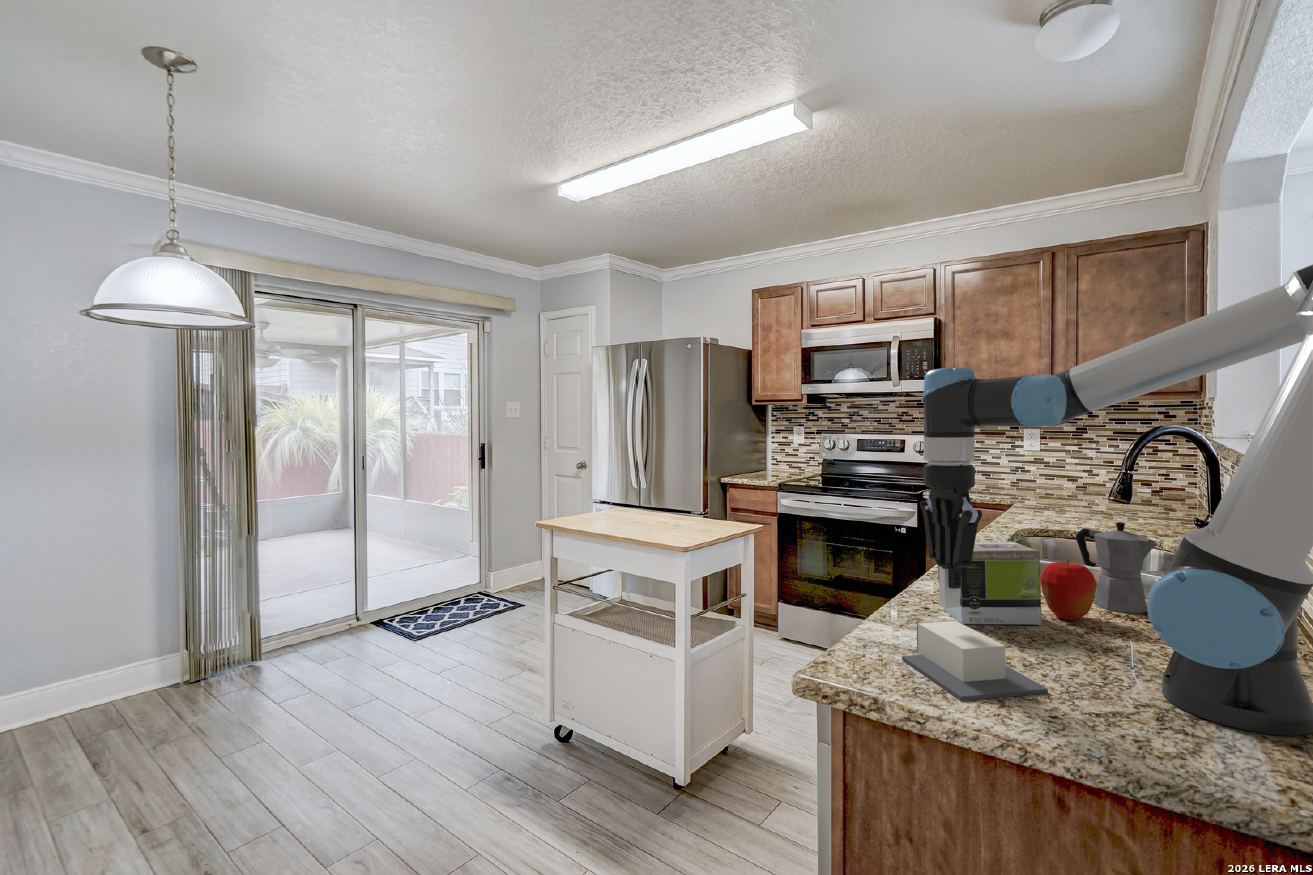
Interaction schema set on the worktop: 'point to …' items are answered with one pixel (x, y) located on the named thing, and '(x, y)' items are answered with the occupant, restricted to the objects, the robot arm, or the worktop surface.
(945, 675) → the mat
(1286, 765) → the worktop surface
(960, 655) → the cream block
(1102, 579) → the coffeepot
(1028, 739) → the worktop surface
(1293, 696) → the robot arm
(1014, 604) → the tea box
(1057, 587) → the apple
